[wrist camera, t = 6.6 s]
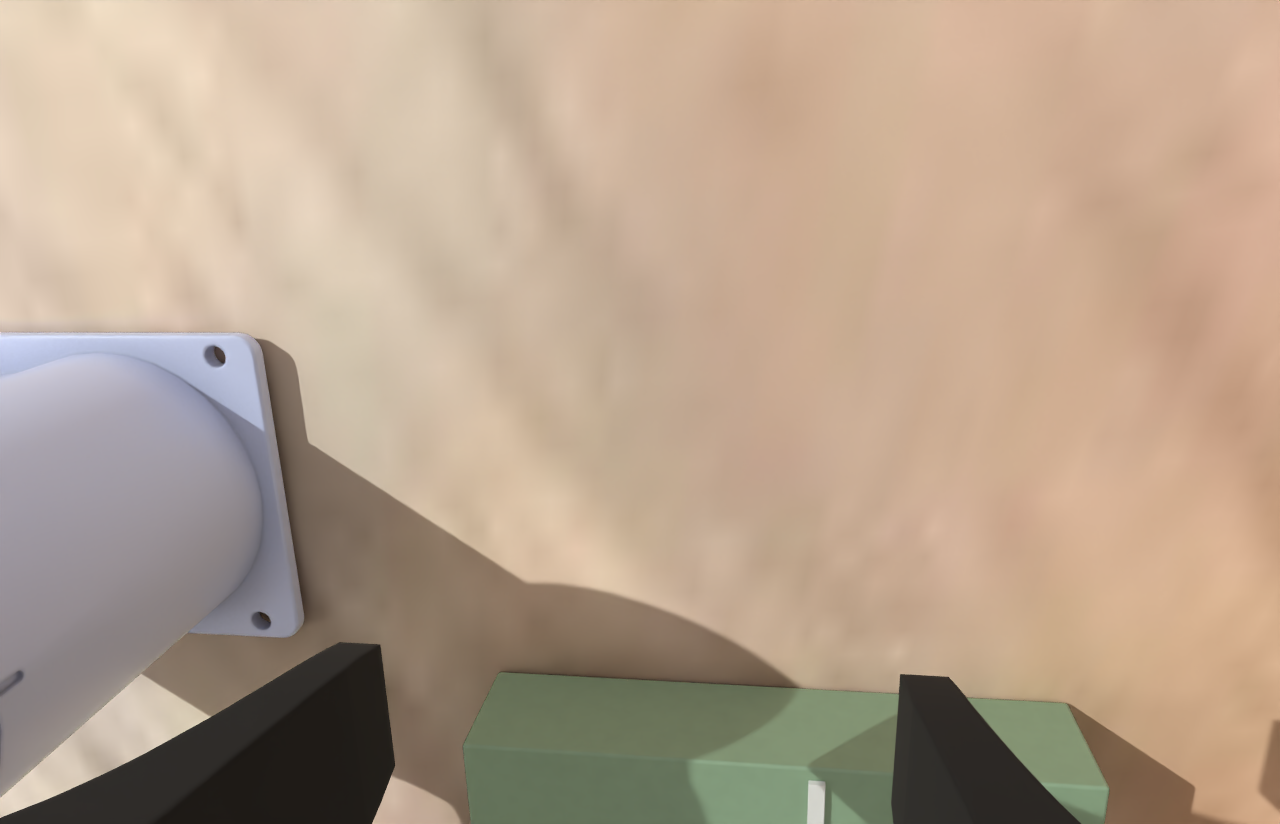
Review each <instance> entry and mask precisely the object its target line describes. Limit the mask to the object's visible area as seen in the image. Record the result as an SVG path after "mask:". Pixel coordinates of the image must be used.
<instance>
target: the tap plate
mask: <svg viewBox="0 0 1280 824" xmlns="http://www.w3.org/2000/svg"><path fill="white" fill-rule="evenodd" d="M967 699H968V700H969V701H970V703H971V704H972V705H973V706H974V708H975V709H976V710H977V711H978V712H979V714H980V715H981V716H982V717H983V718H984V720H985V721H986V722H987V723H988V724H989V726H990V727H991V728H992V729H993V730H994V731H995V733H996V734H997V735H998V736H999V737H1000V739H1001V740H1002V741H1003V742H1004V743H1005V744H1006V745H1007V747H1008V748H1009V749H1010V750H1011V751H1012V752H1013V753H1014V755H1015V756H1016V757H1017V758H1018V759H1019V760H1020V761H1021V762H1022V763H1023V764H1024V765H1025V767H1026V768H1027V769H1028V770H1029V771H1030V772H1031V773H1032V774H1033V775H1034V776H1035V777H1036V778H1037V780H1038V781H1039V782H1040V783H1041V784H1042V785H1043V786H1044V787H1045V788H1046V789H1047V790H1048V791H1049V792H1050V793H1051V794H1052V795H1053V796H1054V797H1055V798H1056V800H1057V801H1058V802H1059V803H1060V804H1061V805H1062V806H1063V807H1065V808H1066V809H1067V810H1068V811H1069V812H1070V813H1071V814H1072V815H1073V816H1074V817H1075V818H1076V819H1077V820H1078V821H1079V822H1080V823H1081V824H1104V823H1105V816H1106V810H1107V803H1108V796H1109V790H1110V789H1109V786H1108V784H1107V782H1106V780H1105V778H1104V776H1103V774H1102V772H1101V770H1100V768H1099V766H1098V764H1097V762H1096V760H1095V758H1094V756H1093V754H1092V752H1091V750H1090V748H1089V746H1088V744H1087V742H1086V740H1085V738H1084V736H1083V734H1082V732H1081V730H1080V728H1079V726H1078V724H1077V722H1076V720H1075V718H1074V716H1073V714H1072V712H1071V710H1070V708H1069V706H1068V704H1066V703H1056V702H1038V701H1020V700H1001V699H983V698H967ZM898 701H899V694H892V693H873V692H855V691H837V690H819V689H800V688H782V687H764V686H745V685H727V684H709V683H691V682H672V681H654V680H636V679H618V678H599V677H581V676H563V675H544V674H526V673H508V672H500V673H498V675H497V677H496V679H495V681H494V683H493V685H492V687H491V689H490V691H489V693H488V695H487V697H486V699H485V701H484V703H483V705H482V707H481V709H480V711H479V713H478V715H477V718H476V720H475V722H474V724H473V726H472V728H471V730H470V732H469V734H468V736H467V738H466V740H465V742H464V744H463V754H464V763H465V773H466V782H467V792H468V802H469V811H470V821H471V824H893V816H892V807H891V797H892V783H893V769H894V756H895V742H896V728H897V714H898Z"/></svg>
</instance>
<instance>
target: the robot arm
mask: <svg viewBox="0 0 1280 824" xmlns="http://www.w3.org/2000/svg"><path fill="white" fill-rule="evenodd" d="M215 346H217V347H219V348H220V349H222V350H223V351H224V354H225V356H226V361H225V363H223V362H220V361H219V360H218V359H217V358H216V355H215V353H214V350H215ZM260 612H263V613H265V614H266V615H268V616H269V618H270V620H271V622H269V621H266V620H264V619H263V618H262V617H261V614H260ZM303 623H304V611H303V604H302V598H301V592H300V585H299V579H298V573H297V566H296V560H295V554H294V547H293V541H292V535H291V528H290V522H289V516H288V510H287V503H286V497H285V491H284V484H283V478H282V472H281V465H280V459H279V453H278V446H277V440H276V434H275V427H274V421H273V415H272V408H271V402H270V396H269V389H268V383H267V377H266V370H265V364H264V358H263V352H262V350H261V347H260V345H259V344H258V342H257V341H256V340H255V339H254V338H253V337H251V336H250V335H248V334H244V333H181V332H0V798H1V797H2V796H3V795H4V794H5V793H6V792H7V791H8V790H10V789H11V788H12V787H13V786H14V785H15V784H16V783H17V782H19V781H20V780H21V779H22V778H23V777H24V776H25V775H27V774H28V773H29V772H30V771H31V770H32V769H33V768H34V767H36V766H37V765H38V764H39V763H40V762H41V761H42V760H44V759H45V758H46V757H47V756H48V755H49V754H50V753H51V752H53V751H54V750H55V749H56V748H57V747H58V746H59V745H61V744H62V743H63V742H64V741H65V740H66V739H67V738H68V737H70V736H71V735H72V734H73V733H74V732H75V731H76V730H78V729H79V728H80V727H81V726H82V725H83V724H84V723H85V722H87V721H88V720H89V719H90V718H91V717H92V716H93V715H95V714H96V713H97V712H98V711H99V710H100V709H101V708H102V707H104V706H105V705H106V704H107V703H108V702H109V701H110V700H112V699H113V698H114V697H115V696H116V695H117V694H118V693H119V692H121V691H122V690H123V689H124V688H125V687H126V686H127V685H129V684H130V683H131V682H132V681H133V680H134V679H135V678H136V677H138V676H139V675H140V674H141V673H142V672H143V671H144V670H145V669H147V668H148V667H149V666H150V665H151V664H152V663H153V662H155V661H156V660H157V659H158V658H159V657H160V656H161V655H162V654H164V653H165V652H166V651H167V650H168V649H169V648H170V647H172V646H173V645H174V644H175V643H176V642H177V641H178V640H179V639H181V638H182V637H183V636H184V635H185V634H186V633H197V634H217V635H236V636H256V637H275V638H286V637H291V636H292V635H294V634H295V633H296V632H297V631H298V630H299V629H300V628H301V626H302V625H303ZM394 767H395V760H394V752H393V744H392V736H391V728H390V720H389V712H388V704H387V696H386V688H385V680H384V671H383V663H382V655H381V647H380V645H378V644H360V643H343V642H340V643H338V644H336V645H334V646H331V647H329V648H327V649H326V650H324V651H322V652H320V653H318V654H316V655H315V656H313V657H311V658H309V659H308V660H306V661H304V662H303V663H301V664H299V665H297V666H296V667H294V668H292V669H291V670H289V671H287V672H286V673H284V674H282V675H281V676H279V677H278V678H276V679H274V680H273V681H271V682H269V683H268V684H266V685H264V686H263V687H261V688H259V689H258V690H256V691H254V692H253V693H251V694H249V695H248V696H246V697H244V698H243V699H241V700H239V701H238V702H236V703H234V704H233V705H231V706H229V707H228V708H226V709H224V710H223V711H221V712H219V713H217V714H216V715H214V716H212V717H210V718H209V719H207V720H205V721H203V722H201V723H200V724H198V725H196V726H194V727H192V728H191V729H189V730H187V731H185V732H183V733H182V734H180V735H178V736H176V737H174V738H172V739H171V740H169V741H167V742H165V743H163V744H162V745H160V746H158V747H156V748H154V749H153V750H151V751H149V752H147V753H145V754H143V755H141V756H139V757H137V758H135V759H133V760H132V761H130V762H128V763H126V764H124V765H121V766H119V767H117V768H115V769H113V770H111V771H109V772H107V773H105V774H103V775H101V776H99V777H96V778H94V779H92V780H90V781H88V782H85V783H83V784H81V785H79V786H77V787H75V788H72V789H70V790H68V791H66V792H64V793H61V794H59V795H57V796H54V797H52V798H50V799H47V800H45V801H42V802H40V803H37V804H35V805H32V806H30V807H27V808H24V809H22V810H19V811H17V812H14V813H12V814H9V815H7V816H4V817H1V818H0V824H372V822H373V820H374V817H375V815H376V813H377V810H378V808H379V806H380V803H381V801H382V798H383V796H384V793H385V790H386V788H387V785H388V783H389V780H390V777H391V775H392V772H393V770H394ZM891 807H892V816H893V824H1081V823H1080V822H1079V821H1078V820H1077V819H1076V818H1075V817H1074V816H1073V815H1072V814H1071V813H1070V812H1069V811H1068V810H1067V809H1066V808H1065V807H1063V806H1062V805H1061V804H1060V803H1059V802H1058V801H1057V800H1056V798H1055V797H1054V796H1053V795H1052V794H1051V793H1050V792H1049V791H1048V790H1047V789H1046V788H1045V787H1044V786H1043V785H1042V784H1041V783H1040V782H1039V781H1038V780H1037V778H1036V777H1035V776H1034V775H1033V774H1032V773H1031V772H1030V771H1029V770H1028V769H1027V768H1026V767H1025V765H1024V764H1023V763H1022V762H1021V761H1020V760H1019V759H1018V758H1017V757H1016V756H1015V755H1014V753H1013V752H1012V751H1011V750H1010V749H1009V748H1008V747H1007V745H1006V744H1005V743H1004V742H1003V741H1002V740H1001V739H1000V737H999V736H998V735H997V734H996V733H995V731H994V730H993V729H992V728H991V727H990V726H989V724H988V723H987V722H986V721H985V720H984V718H983V717H982V716H981V715H980V714H979V712H978V711H977V710H976V709H975V708H974V706H973V705H972V704H971V703H970V701H969V700H968V699H967V698H966V697H965V695H964V694H963V693H962V692H961V690H960V689H959V688H958V687H957V686H956V685H955V684H954V682H953V681H952V680H951V679H950V678H949V677H940V676H922V675H905V674H900V687H899V701H898V714H897V728H896V742H895V756H894V769H893V783H892V797H891Z"/></svg>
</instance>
